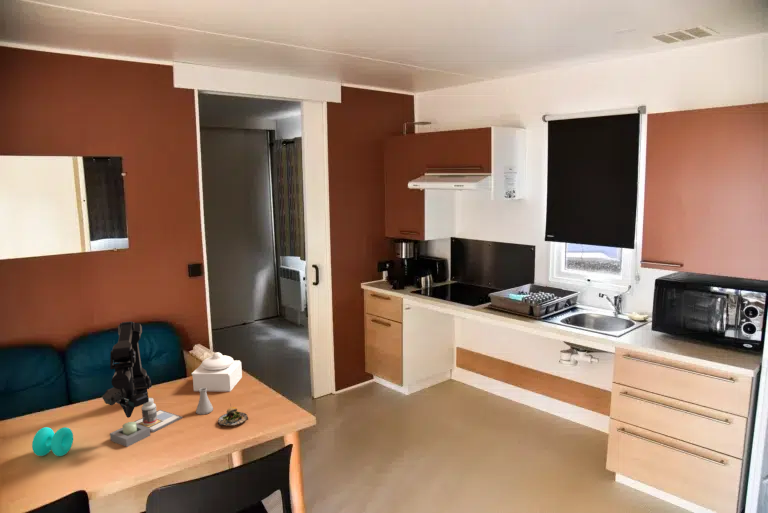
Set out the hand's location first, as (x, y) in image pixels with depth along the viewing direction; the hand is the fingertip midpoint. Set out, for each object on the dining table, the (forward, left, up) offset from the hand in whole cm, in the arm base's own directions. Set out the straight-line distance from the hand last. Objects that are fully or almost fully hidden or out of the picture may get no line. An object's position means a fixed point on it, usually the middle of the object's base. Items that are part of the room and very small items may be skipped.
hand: (128, 417), depth 204 cm
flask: (+7, +30, -9) cm, 32 cm away
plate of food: (+25, +29, -9) cm, 39 cm away
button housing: (0, 0, -8) cm, 9 cm away
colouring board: (-3, +14, -8) cm, 17 cm away
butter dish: (-10, +54, -9) cm, 55 cm away
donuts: (-14, -21, -9) cm, 27 cm away
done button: (0, 0, -7) cm, 7 cm away
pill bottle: (-3, +11, -8) cm, 14 cm away
